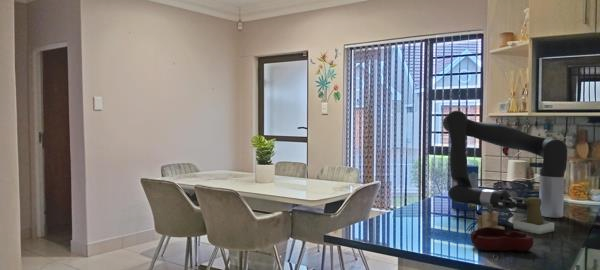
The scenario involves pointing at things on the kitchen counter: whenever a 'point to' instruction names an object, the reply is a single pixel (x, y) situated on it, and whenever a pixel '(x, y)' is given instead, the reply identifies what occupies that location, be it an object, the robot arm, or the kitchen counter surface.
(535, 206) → the cork
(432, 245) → the kitchen counter surface
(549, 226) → the tray
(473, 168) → the milk carton
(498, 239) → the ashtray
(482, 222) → the bracket
